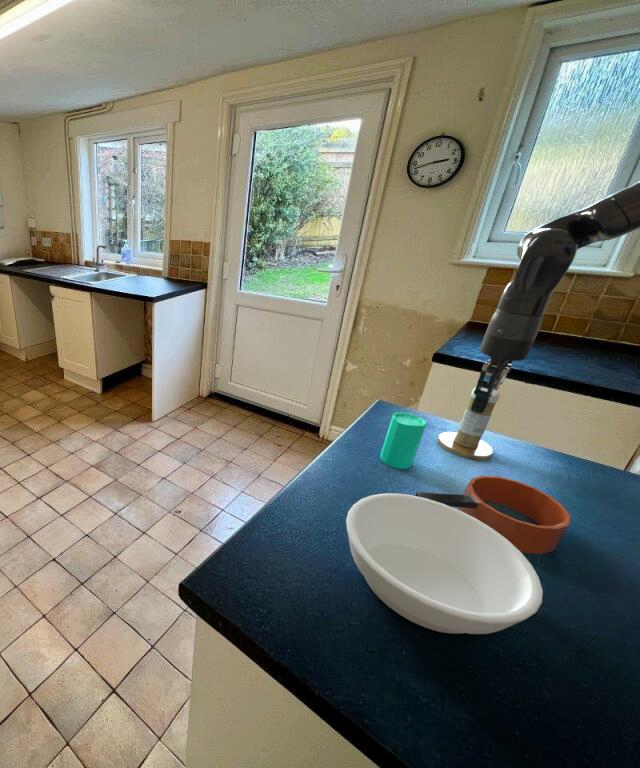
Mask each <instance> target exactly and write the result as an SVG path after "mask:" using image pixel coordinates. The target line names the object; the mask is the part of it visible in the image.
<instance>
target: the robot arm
mask: <svg viewBox="0 0 640 768" xmlns="http://www.w3.org/2000/svg"><path fill="white" fill-rule="evenodd" d="M636 230H640V181H638V182H635V183H634V184H632V185H629V186H627V187H625V188H622V189H621V190H619V191H617V192H615V193H612V194H610V195H608V196H607V197H605V198H603V199H600V200H599V201H597V202H595V203H594V204H591V205H589V206H587V207H585V208H582V209H579V210H577V211H574V212H572V213H569V214H565V215H564V216H562V217H559V218H557V219H554V220H551V221H549V222H547V223H544V224H542V225H540V226H538V227H536V228H534V229H533V230H530V231H529V232H527V233H526V234H525V235H524V236H523V237H522V238H521V239H520V240H519V241H518V244H517V246H516V256H517V257H518V259H519V260H520V262H519V264H518V266H517V269H516V271H515V274H514V276H513V279H512V280H511V281H509V282H508V283H507V284H506V285H505V288H504V289H503V292H502V294H501V296H500V299H499V302H498V304H497V307H496V309H495V311H494V313H493V315H492V316H491V319H490V321H489V323H488V326H487V328H486V330H485V334H484V336H483V339H482V342H481V345H480V347H479V351H480V353H481V354H483V355H485V356H488V357H489V358H490V359H487V361H485V362H484V363H483V365H482V367H481V371H480V372H479V377H478V380H477V384H476V386H475V387H476V389H475V391H474V394H475V395H476V397H475V399H474V402H473V404H472V407H471V410H472V411H475V412H478V413H483V412H484V411H485V408H486V406H487V403H488V401H489V399H490V397H492V393H493V391H494V390H496V391H498V390H499V389H500V387H501V386H502V385H503V384H504V382H505V381H506V378H507V376H508V373H510V371H511V370H512V366H513V365H512V364H513V362H520V361H521V362H522V361H524V360H526V359H527V358H528V357H529V354H530V352H531V349H532V347H533V345H534V342H535V341H536V338H537V335H538V333H539V331H540V329H541V326H542V322H543V319H544V315H545V313H546V311H547V308H548V306H549V304H550V301H551V299H552V296H553V293H554V291H555V290H556V288H557V287H558V286H559V285H560V282H561V281H562V280H563V278H564V276H565V275H566V273H567V272H568V270H569V269H570V267H571V266H572V263H573V262H574V259H575V257H576V255H577V252H578V250H580V249H582V248H584V247H587V246H590V245H591V244H595V243H597V242H603V241H605V242H606V241H610V240H614V239H617V238H620V237H623V236H625V235H627V234H629V233H632V232H634V231H636ZM482 387H483V388H487V389H488V391H487V392H486V391H483V390H481V389H482Z"/></svg>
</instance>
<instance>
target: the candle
mask: <svg viewBox="0 0 640 768" xmlns="http://www.w3.org/2000/svg"><path fill="white" fill-rule="evenodd" d="M426 427H427V421H426V419H423V418H421V417H419V416H417V415H415V414H413V412H398V411H396V412H395V413H393V414H392V416H391V420H390V422H389V425H388V429H387V431H386V436H385V438H384V441H383V445H382V448H381V452H380V454H379V457H380V460H381V461H382V462H383V464H385V465H388V466H390V467H392V468H394V469H395V468H396V469H400V470H404V469H410V468H411V467H412V466H413V463H414V461H415V458H416V455H417V452H418V449H419V446H420V444H421V441H422V438H423V435H424V432H425V430H426Z"/></svg>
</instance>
